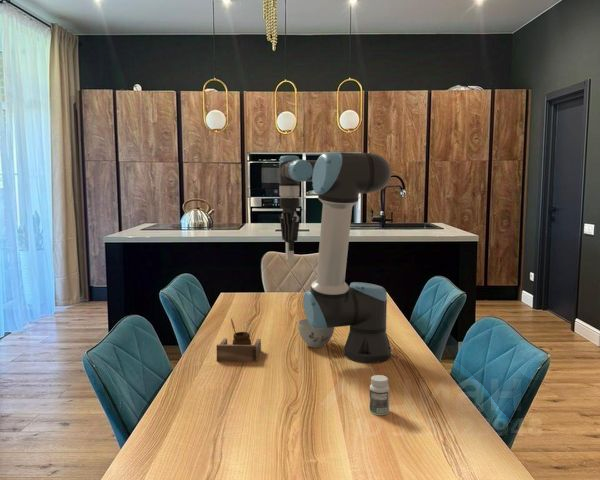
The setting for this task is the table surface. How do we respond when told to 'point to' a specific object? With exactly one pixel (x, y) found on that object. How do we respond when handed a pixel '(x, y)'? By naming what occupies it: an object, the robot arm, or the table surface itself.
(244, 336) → the utensil holder
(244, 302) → the table surface
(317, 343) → the teacup
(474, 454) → the table surface
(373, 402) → the pill bottle
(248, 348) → the walnut corral
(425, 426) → the table surface
